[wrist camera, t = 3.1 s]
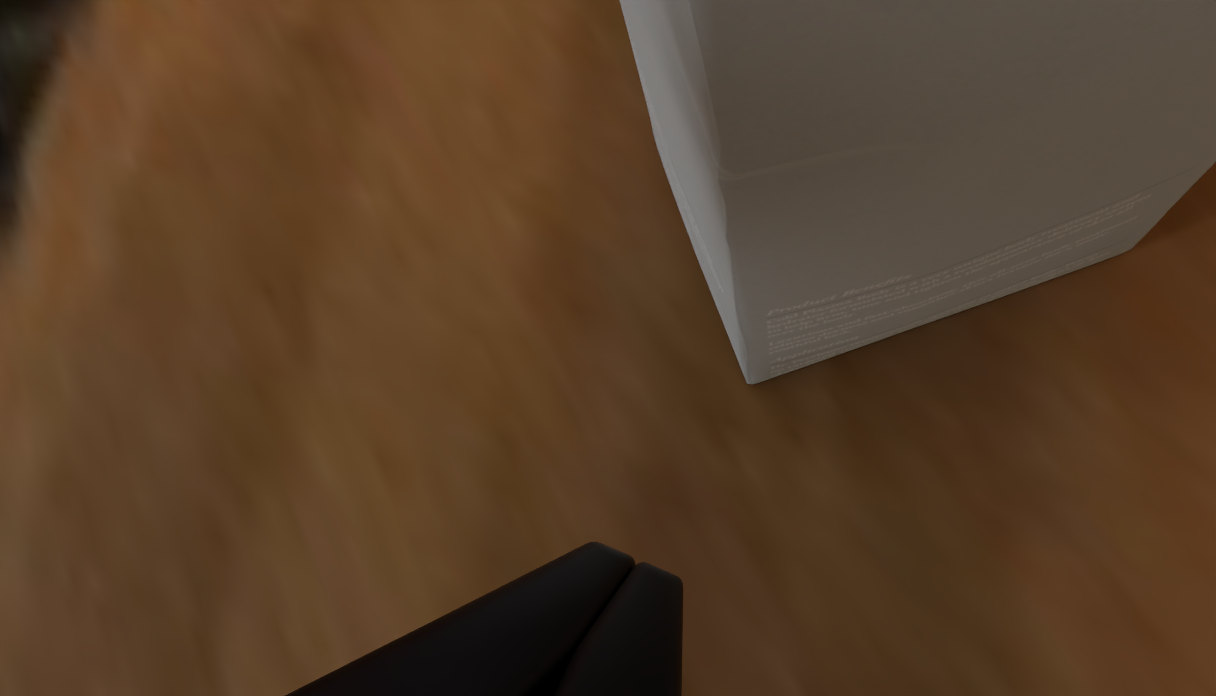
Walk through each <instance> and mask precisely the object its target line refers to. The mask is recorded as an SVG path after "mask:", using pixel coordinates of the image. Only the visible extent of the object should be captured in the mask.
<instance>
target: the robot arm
mask: <svg viewBox="0 0 1216 696" xmlns="http://www.w3.org/2000/svg"><path fill="white" fill-rule="evenodd" d="M682 630H683V583H682V580H681V579H680V578H679V577H678V576H676V575H673V574H671V573H669V572H667V571H664V570H662V569H660V568H657V567H655V566H653V565H650V564H648V563H645V562H642V563H638V564H637V565H635V561H634V559H633V558H632V557H631V556H630V555H627V554H625V553H623V552H620V551H618V550H616V549H613V548H611V547H609V546H606V545H604V544H602V543H599V542H590V543H587V544H585V545H583V546H581V547H579V548H577V549H575V550H573V551H571V552H569V553H567V554H565V555H563V556H561V557H559V558H557V559H555V560H553V561H551V562H549V563H547V564H545V565H543V566H541V567H539V568H537V569H535V570H533V571H531V572H529V573H527V574H525V575H523V576H521V577H519V578H517V579H515V580H513V581H511V582H509V583H507V584H505V585H503V586H501V587H499V588H498V589H496V590H494V591H492V592H490V593H488V594H486V595H484V596H482V597H480V598H478V599H476V600H474V601H472V602H470V603H468V604H466V605H464V606H462V607H460V608H458V609H456V610H454V611H452V612H450V613H448V614H446V615H444V616H442V617H440V618H438V619H436V620H434V621H432V622H430V623H428V624H426V625H424V626H422V627H420V628H418V629H416V630H414V631H412V632H410V633H408V634H406V635H404V636H402V637H400V638H398V639H396V640H394V641H392V642H390V643H388V644H387V645H385V646H383V647H381V648H379V649H377V650H375V651H373V652H371V653H369V654H367V655H365V656H363V657H361V658H359V659H357V660H355V661H353V662H351V663H349V664H347V665H345V666H343V667H341V668H339V669H337V670H335V671H333V672H331V673H329V674H327V675H325V676H323V677H321V678H319V679H317V680H315V681H313V682H311V683H309V684H307V685H305V686H303V687H301V688H299V689H297V690H295V691H293V692H291V693H289V694H287V695H285V696H681V693H682Z"/></svg>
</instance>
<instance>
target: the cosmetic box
mask: <svg viewBox="0 0 1216 696" xmlns="http://www.w3.org/2000/svg"><path fill="white" fill-rule="evenodd" d="M620 3H621V7H622V11H623V15H624V19H625V22H626V26H627V30H628V34H629V38H630V41H631V45H632V49H633V53H634V57H635V60H636V64H637V68H638V72H639V76H640V80H641V84H642V88H643V92H644V95H645V99H646V103H647V107H648V111H649V115H650V119H651V123H652V131H653V134H654V138H655V142H656V145H657V149H658V152H659V154H660V157H661V160H662V163H663V166H664V169H665V172H666V175H667V178H668V180H669V183H670V186H671V189H672V192H673V195H674V197H675V200H676V203H677V205H678V208H679V211H680V213H681V216H682V219H683V221H684V224H685V227H686V229H687V232H688V235H689V237H690V240H691V243H692V245H693V248H694V251H695V253H696V256H697V258H698V261H699V263H700V266H701V268H702V271H703V273H704V276H705V278H706V281H707V283H708V286H709V288H710V291H711V293H712V296H713V299H714V301H715V304H716V306H717V309H718V311H719V314H720V316H721V319H722V321H723V324H724V326H725V329H726V331H727V334H728V336H729V339H730V341H731V344H732V346H733V349H734V351H735V354H736V357H737V359H738V362H739V364H740V367H741V369H742V372H743V375H744V377H745V380H746V382H747V383H748V384H756V383H759V382H762V381H765V380H768V379H771V378H774V377H777V376H779V375H782V374H785V373H788V372H791V371H794V370H797V369H800V368H803V367H805V366H808V365H811V364H814V363H817V362H820V361H823V360H826V359H828V358H831V357H834V356H837V355H840V354H843V353H845V352H848V351H851V350H854V349H857V348H859V347H862V346H865V345H868V344H871V343H873V342H876V341H879V340H882V339H885V338H887V337H890V336H893V335H896V334H899V333H902V332H904V331H907V330H910V329H913V328H916V327H918V326H921V325H924V324H927V323H930V322H933V321H936V320H938V319H941V318H944V317H947V316H950V315H953V314H955V313H958V312H961V311H964V310H967V309H970V308H972V307H975V306H978V305H981V304H984V303H986V302H989V301H992V300H995V299H998V298H1001V297H1003V296H1006V295H1009V294H1012V293H1015V292H1018V291H1020V290H1023V289H1026V288H1029V287H1031V286H1034V285H1037V284H1040V283H1042V282H1045V281H1048V280H1051V279H1054V278H1056V277H1059V276H1062V275H1065V274H1067V273H1070V272H1073V271H1076V270H1078V269H1081V268H1084V267H1087V266H1090V265H1092V264H1095V263H1098V262H1101V261H1103V260H1106V259H1109V258H1111V257H1114V256H1117V255H1119V254H1122V253H1124V252H1126V251H1128V250H1130V249H1132V248H1133V247H1134V246H1135V245H1136V244H1137V243H1138V242H1139V241H1140V240H1141V239H1142V238H1143V237H1144V236H1145V235H1146V234H1147V233H1148V232H1149V231H1150V230H1151V229H1152V228H1153V227H1154V226H1155V225H1156V224H1157V223H1158V221H1159V220H1160V219H1161V218H1162V217H1163V216H1164V215H1165V214H1166V213H1167V211H1168V210H1169V209H1170V208H1171V207H1172V206H1173V205H1174V204H1175V203H1176V202H1177V201H1178V200H1179V199H1180V198H1181V197H1182V196H1183V195H1184V194H1185V193H1186V192H1187V191H1188V190H1189V189H1190V188H1191V187H1192V186H1193V185H1194V184H1195V183H1196V182H1197V181H1198V180H1199V178H1200V177H1201V176H1202V175H1203V174H1204V173H1205V172H1206V171H1207V170H1208V169H1209V168H1210V167H1211V166H1212V165H1213V164H1214V163H1215V162H1216V0H620Z"/></svg>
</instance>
